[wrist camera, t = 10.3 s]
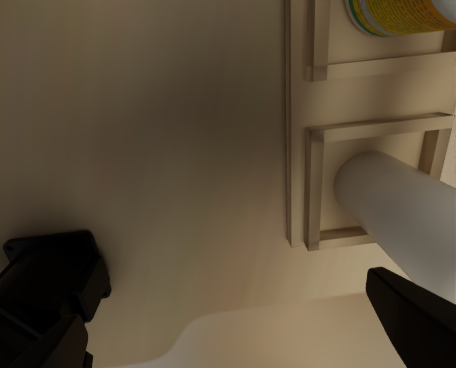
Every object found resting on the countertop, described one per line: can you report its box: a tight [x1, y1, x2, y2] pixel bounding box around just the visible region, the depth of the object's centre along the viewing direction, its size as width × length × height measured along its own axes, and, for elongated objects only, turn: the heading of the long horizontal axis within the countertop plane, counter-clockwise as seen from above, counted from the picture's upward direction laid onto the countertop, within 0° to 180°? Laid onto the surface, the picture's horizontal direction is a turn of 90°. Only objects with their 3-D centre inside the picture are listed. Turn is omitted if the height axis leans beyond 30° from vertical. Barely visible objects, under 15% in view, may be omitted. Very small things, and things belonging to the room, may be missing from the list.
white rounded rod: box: [334, 151, 456, 304], centre depth 16 cm, size 5×5×10 cm
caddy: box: [285, 0, 456, 251], centre depth 18 cm, size 11×22×2 cm, turn 6°
